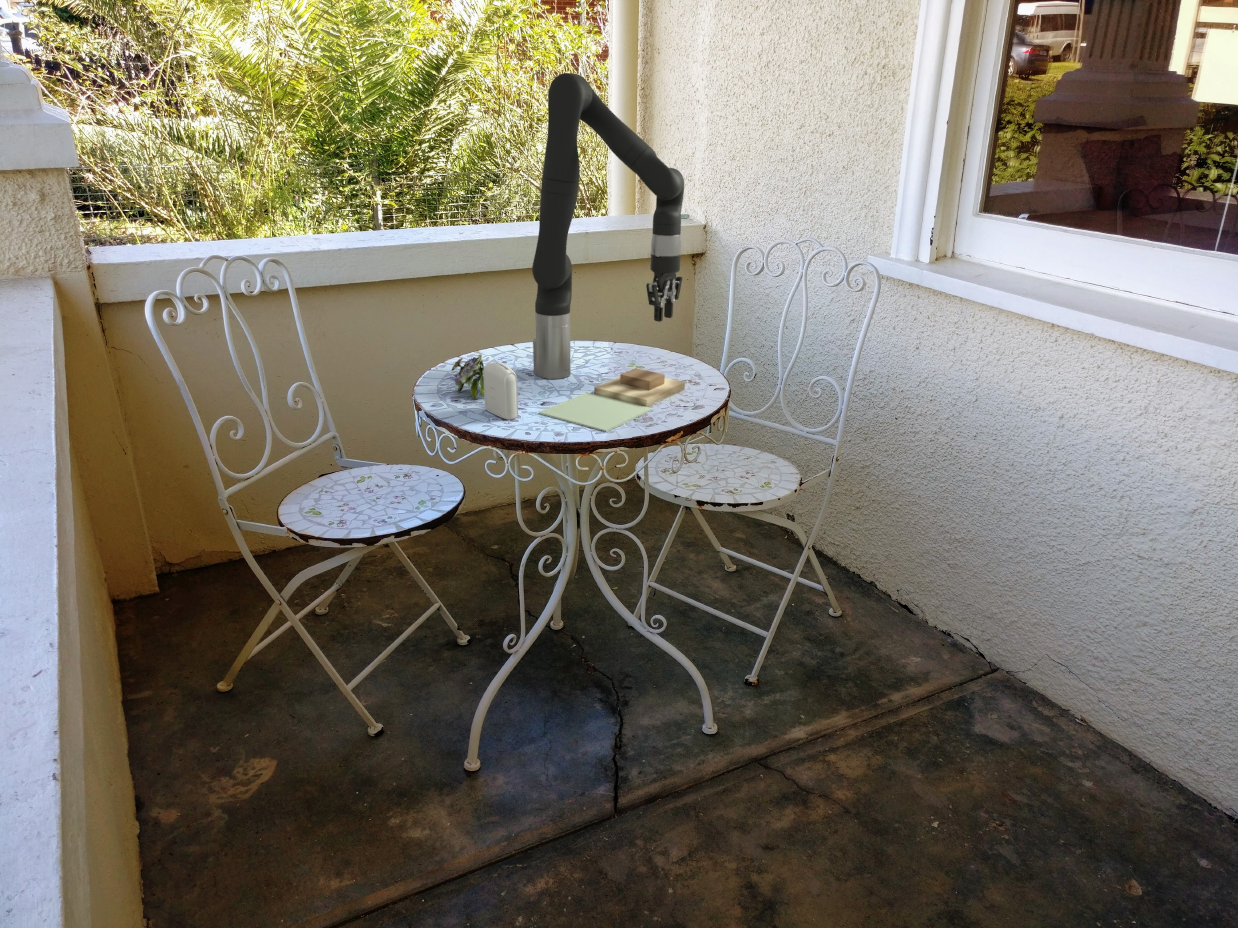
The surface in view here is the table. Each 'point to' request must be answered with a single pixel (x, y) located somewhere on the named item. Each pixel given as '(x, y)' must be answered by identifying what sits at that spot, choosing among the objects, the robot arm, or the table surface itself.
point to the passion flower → (470, 375)
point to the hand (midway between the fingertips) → (663, 319)
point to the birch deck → (639, 392)
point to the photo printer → (500, 390)
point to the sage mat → (596, 411)
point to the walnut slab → (642, 379)
